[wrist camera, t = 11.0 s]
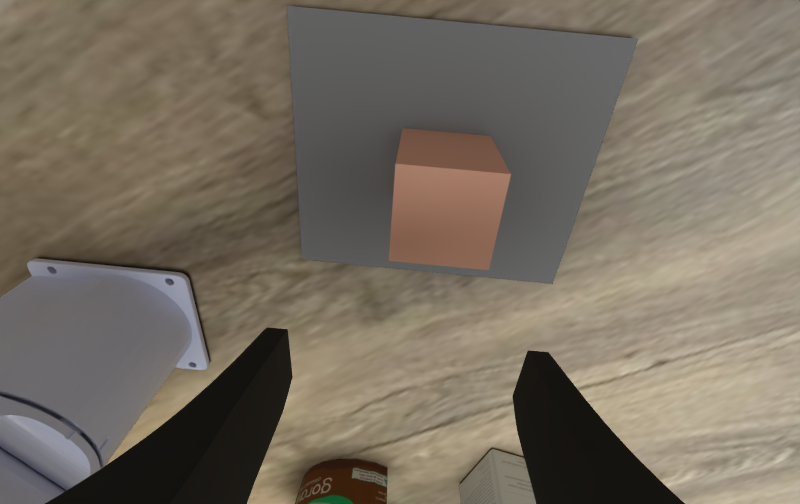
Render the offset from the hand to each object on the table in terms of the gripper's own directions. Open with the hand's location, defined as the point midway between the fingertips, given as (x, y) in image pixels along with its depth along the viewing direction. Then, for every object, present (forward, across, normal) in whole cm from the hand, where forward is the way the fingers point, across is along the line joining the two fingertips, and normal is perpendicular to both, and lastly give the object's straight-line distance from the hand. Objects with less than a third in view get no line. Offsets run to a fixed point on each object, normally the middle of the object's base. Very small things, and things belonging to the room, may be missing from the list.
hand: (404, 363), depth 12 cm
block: (+10, -1, -3) cm, 10 cm away
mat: (+10, -1, -3) cm, 11 cm away
